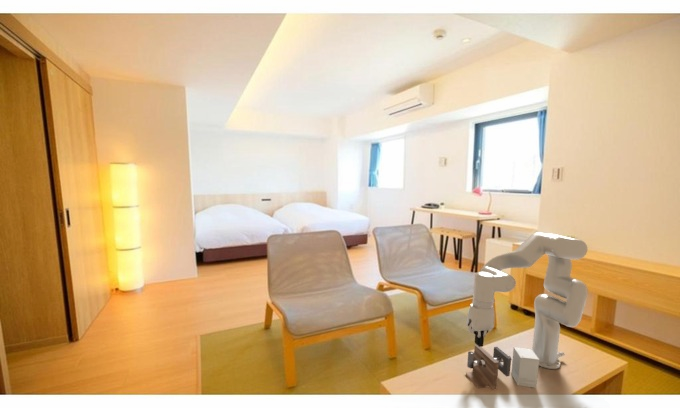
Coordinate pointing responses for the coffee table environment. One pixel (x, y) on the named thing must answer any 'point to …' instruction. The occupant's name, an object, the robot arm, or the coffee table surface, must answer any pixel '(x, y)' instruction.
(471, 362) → the shaft
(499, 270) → the robot arm
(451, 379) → the coffee table surface
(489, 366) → the bracket
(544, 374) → the coffee table surface
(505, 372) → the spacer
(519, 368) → the supplement box
